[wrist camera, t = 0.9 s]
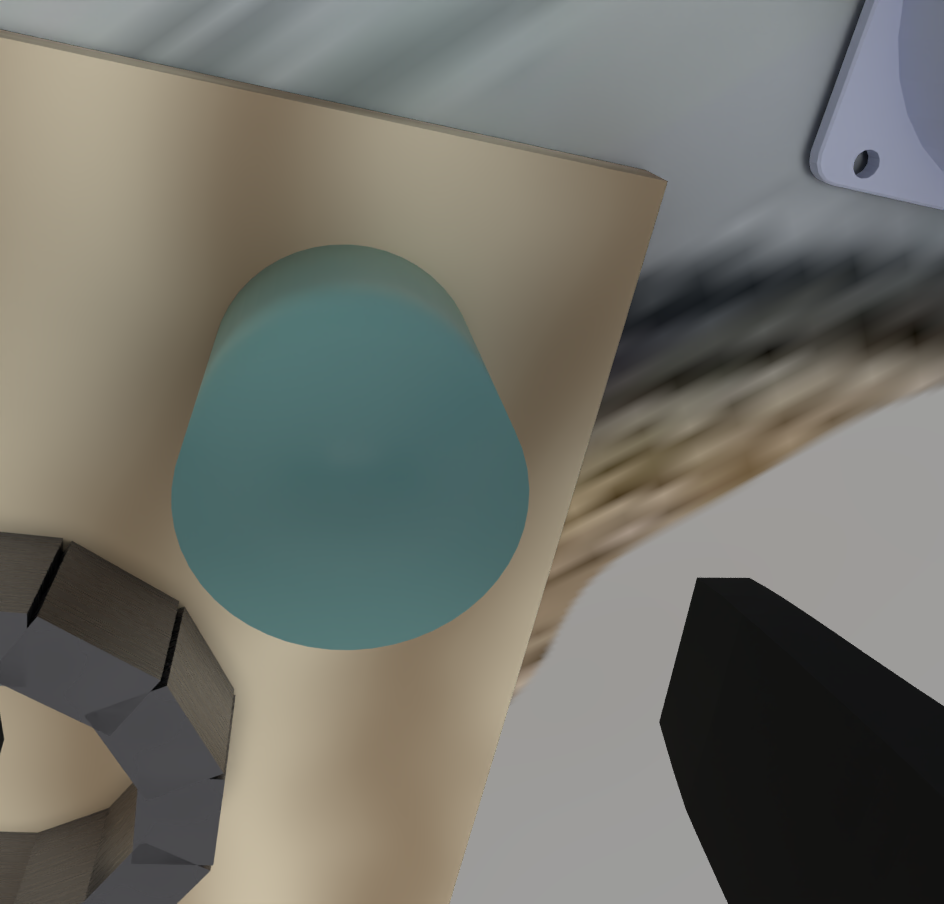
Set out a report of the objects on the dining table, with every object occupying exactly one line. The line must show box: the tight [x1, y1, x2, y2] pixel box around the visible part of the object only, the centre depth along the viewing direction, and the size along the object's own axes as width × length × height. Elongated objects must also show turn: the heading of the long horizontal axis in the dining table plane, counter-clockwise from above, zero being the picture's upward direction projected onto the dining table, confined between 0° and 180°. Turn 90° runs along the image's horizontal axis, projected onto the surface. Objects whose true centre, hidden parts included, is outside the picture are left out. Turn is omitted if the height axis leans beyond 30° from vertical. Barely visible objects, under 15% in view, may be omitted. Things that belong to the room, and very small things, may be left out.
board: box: [0, 30, 668, 904], centre depth 19 cm, size 16×20×1 cm
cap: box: [171, 245, 529, 650], centre depth 14 cm, size 5×5×5 cm
